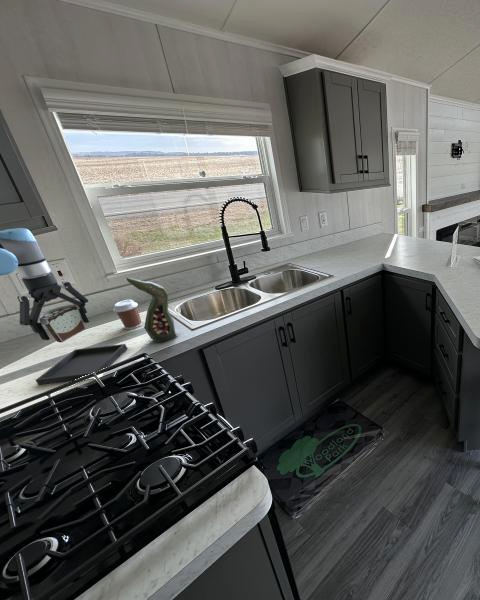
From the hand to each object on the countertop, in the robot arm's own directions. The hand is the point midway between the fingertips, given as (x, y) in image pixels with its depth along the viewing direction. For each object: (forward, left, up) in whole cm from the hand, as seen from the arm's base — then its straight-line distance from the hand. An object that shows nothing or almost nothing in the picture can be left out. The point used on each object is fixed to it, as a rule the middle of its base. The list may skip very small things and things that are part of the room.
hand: (66, 330), depth 119 cm
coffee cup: (+29, +13, -16) cm, 36 cm away
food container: (-1, 0, -2) cm, 2 cm away
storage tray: (0, 0, -16) cm, 16 cm away
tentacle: (+24, -13, -16) cm, 32 cm away
